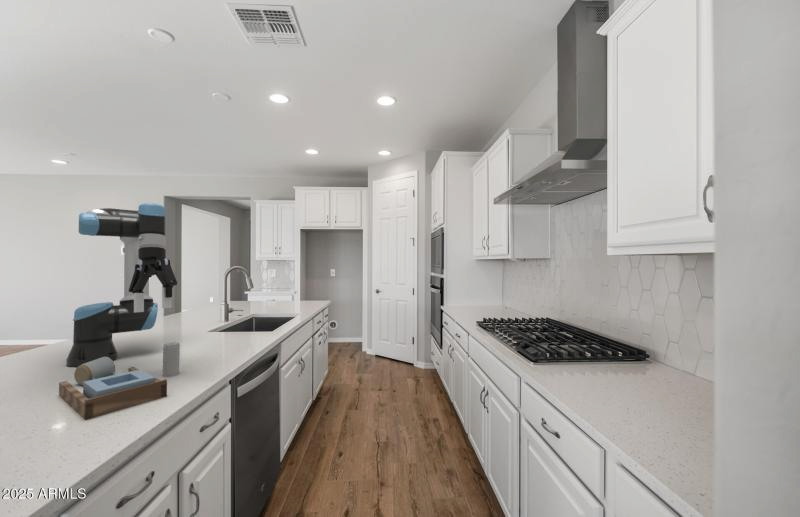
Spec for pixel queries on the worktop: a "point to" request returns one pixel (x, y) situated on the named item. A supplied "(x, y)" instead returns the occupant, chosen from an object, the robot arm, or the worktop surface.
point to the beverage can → (171, 359)
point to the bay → (111, 398)
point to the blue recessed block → (116, 383)
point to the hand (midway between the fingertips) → (152, 310)
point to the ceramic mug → (94, 370)
